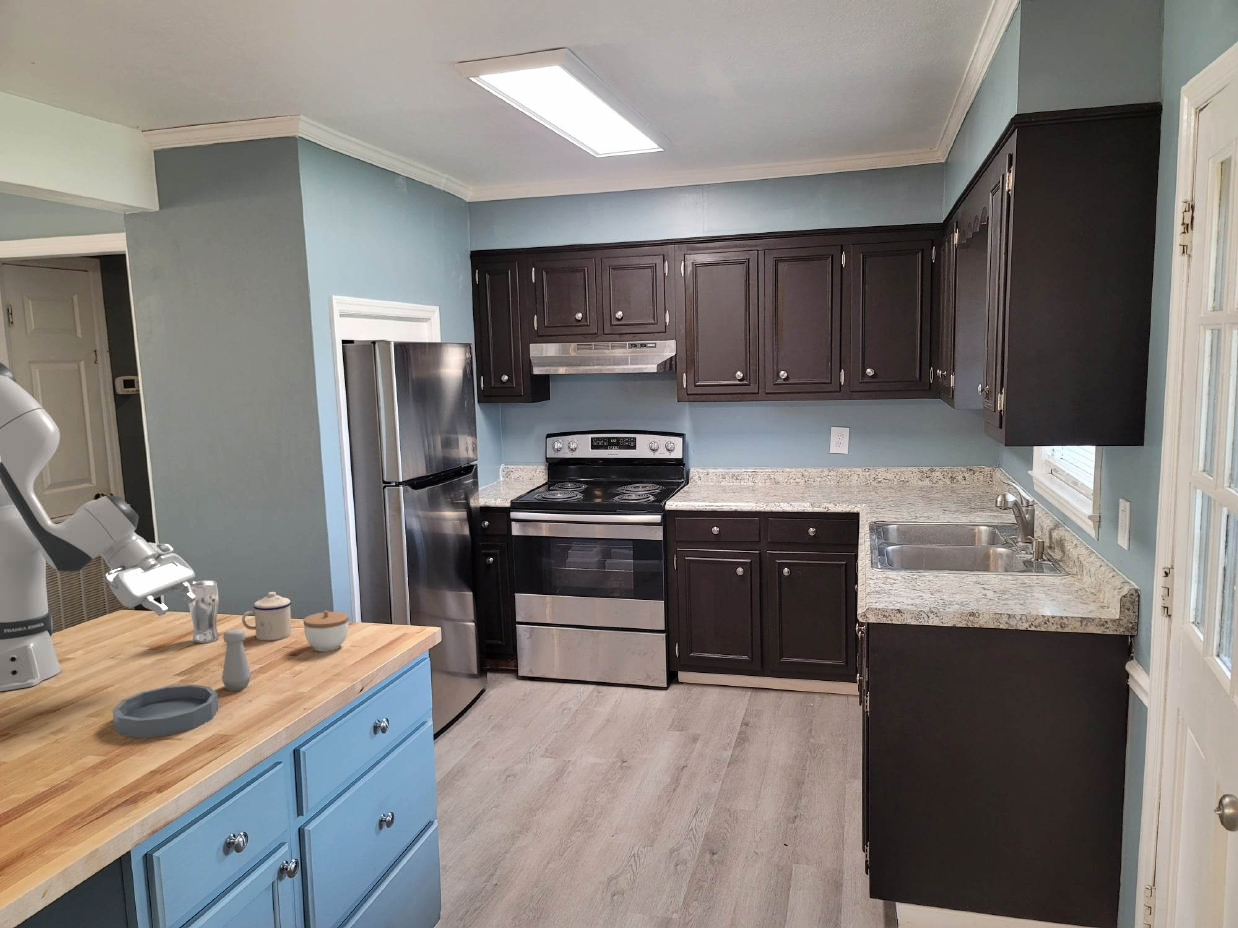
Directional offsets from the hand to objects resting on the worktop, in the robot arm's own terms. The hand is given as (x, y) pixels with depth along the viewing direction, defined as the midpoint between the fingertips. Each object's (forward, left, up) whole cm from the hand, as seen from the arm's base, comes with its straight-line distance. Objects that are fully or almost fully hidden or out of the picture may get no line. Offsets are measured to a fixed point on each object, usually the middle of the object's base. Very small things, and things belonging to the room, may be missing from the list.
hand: (178, 606), depth 188 cm
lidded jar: (+34, +3, -18) cm, 39 cm away
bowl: (-8, -18, -18) cm, 26 cm away
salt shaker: (+8, -10, -18) cm, 22 cm away
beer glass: (+13, +30, -18) cm, 38 cm away
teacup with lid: (+26, +22, -18) cm, 39 cm away
